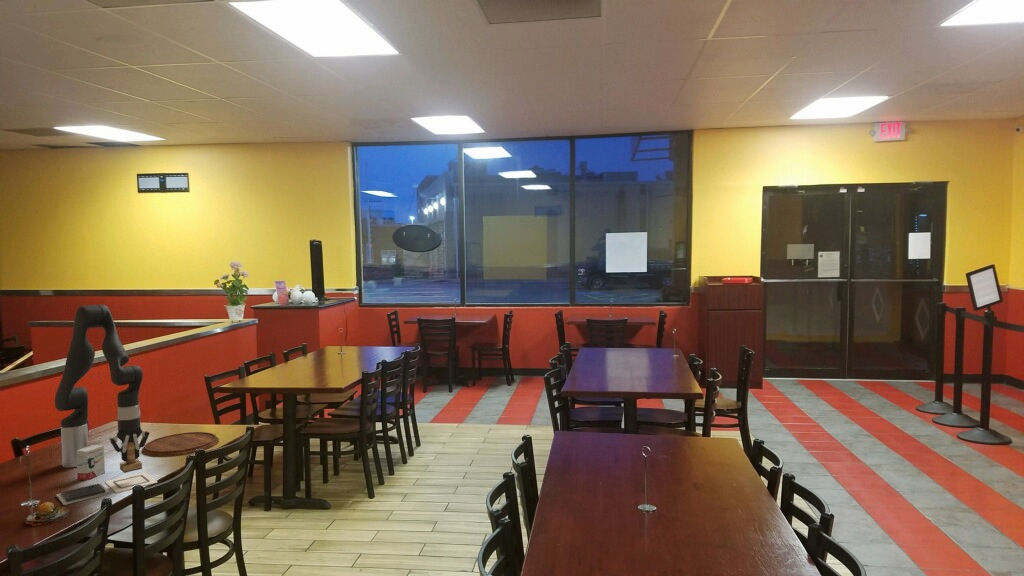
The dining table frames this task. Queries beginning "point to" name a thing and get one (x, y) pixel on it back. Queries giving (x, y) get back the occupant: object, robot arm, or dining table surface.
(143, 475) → the paper sheet
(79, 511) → the dining table surface
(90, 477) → the ink box
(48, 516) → the burger
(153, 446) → the cutting board
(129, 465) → the stamp
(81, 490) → the ink pad
